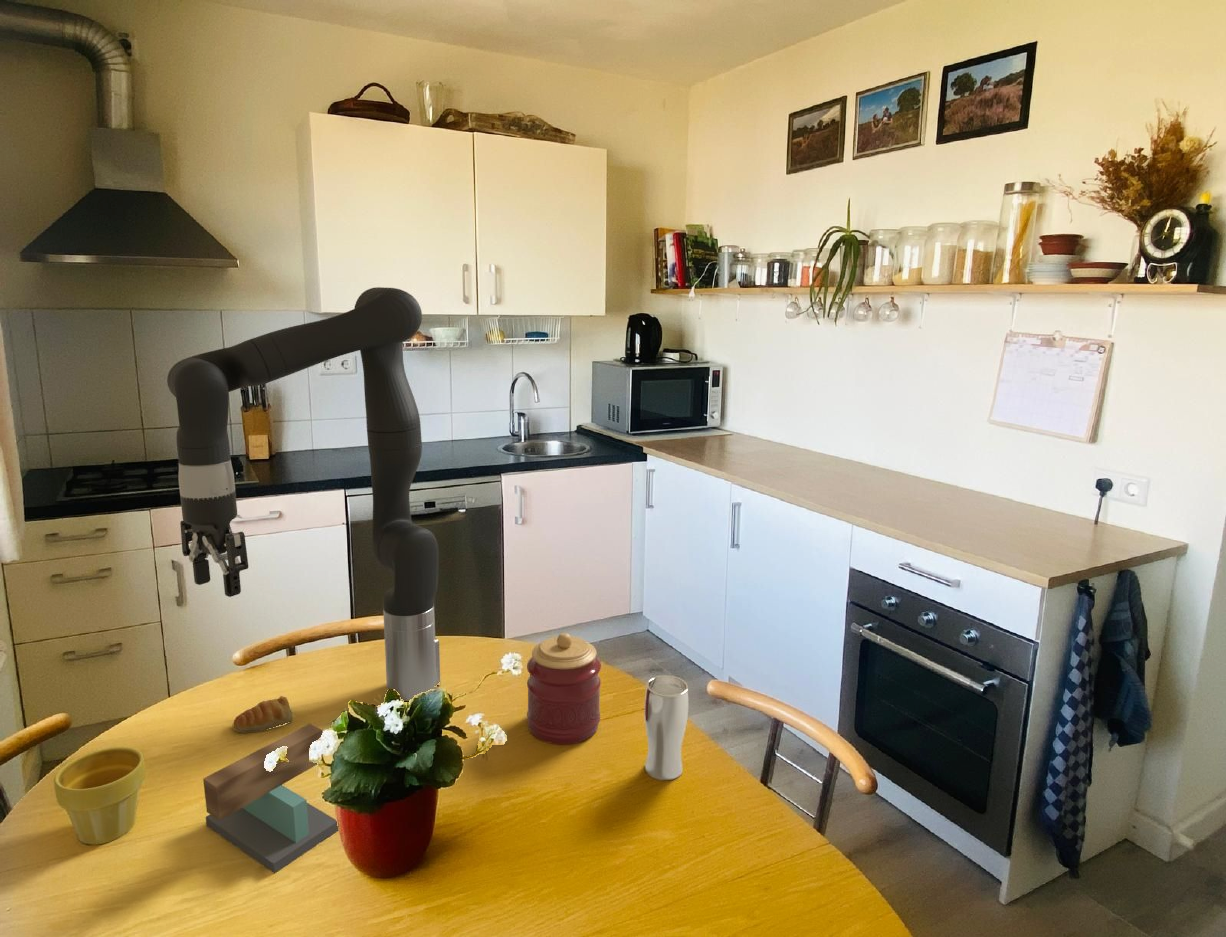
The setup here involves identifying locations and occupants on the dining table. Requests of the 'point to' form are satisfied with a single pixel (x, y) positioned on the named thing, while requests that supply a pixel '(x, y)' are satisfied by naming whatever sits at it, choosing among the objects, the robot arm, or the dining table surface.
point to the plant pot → (101, 792)
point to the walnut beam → (258, 773)
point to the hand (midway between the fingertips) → (217, 588)
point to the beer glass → (665, 725)
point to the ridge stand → (275, 828)
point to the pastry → (264, 716)
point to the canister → (563, 690)
